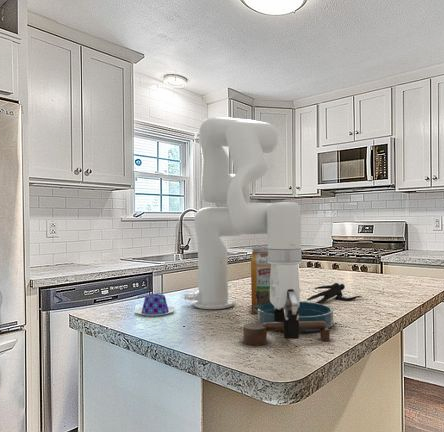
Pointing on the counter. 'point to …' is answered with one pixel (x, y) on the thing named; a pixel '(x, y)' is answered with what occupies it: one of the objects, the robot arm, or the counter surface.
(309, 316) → the bowl
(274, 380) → the counter surface
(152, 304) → the pudding
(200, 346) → the counter surface
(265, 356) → the counter surface
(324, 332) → the ladle
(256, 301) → the milk carton
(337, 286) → the dark humanoid figurine
